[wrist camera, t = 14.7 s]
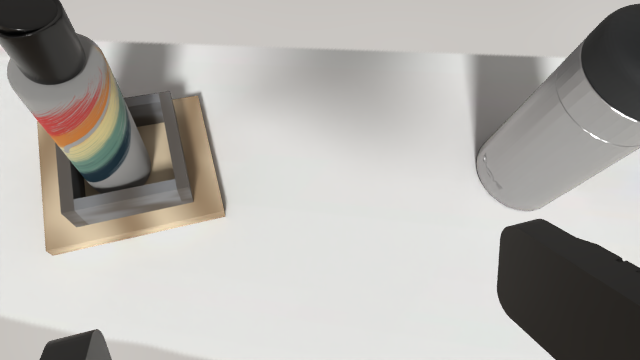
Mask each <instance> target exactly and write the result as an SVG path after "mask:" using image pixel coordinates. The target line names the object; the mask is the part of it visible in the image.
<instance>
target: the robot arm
mask: <svg viewBox="0 0 640 360" xmlns="http://www.w3.org/2000/svg"><path fill="white" fill-rule="evenodd" d="M639 148H640V4H634V5H629V6H626V7H623V8H620V9H618V10H617V11H615V12H613V13H612V14H610V15H609V16H608V17H606V18H605V19H604V20H603V21H602V22H601V23H600V24H599V25H598V26H597V27H596V28H595V29H594V30H593V31H592V32H591V33H590V34H589V35H588V36H587V38H586V39H585V40H584V41H583V42H582V43H581V44H580V45H579V46H578V47H577V48H576V49H575V50H574V51H573V52H572V53H571V54H570V55H569V56H568V57H567V58H566V59H565V61H564V62H563V63H562V64H561V65H560V66H559V67H558V68H557V69H556V70H555V71H554V72H553V73H552V74H551V75H550V76H549V77H548V78H547V79H546V80H545V81H544V82H543V83H542V84H541V85H540V86H539V88H538V89H537V90H536V91H535V92H534V93H533V94H532V95H531V96H530V97H529V98H528V99H527V100H526V101H525V102H524V103H523V104H522V105H521V106H520V107H519V108H518V109H517V110H516V111H515V112H514V113H513V114H512V115H511V116H510V118H509V119H508V120H507V121H506V122H505V123H504V124H503V125H502V126H501V127H500V128H499V129H498V130H497V131H496V132H495V133H494V134H493V135H492V136H491V137H490V138H489V139H488V140H487V141H486V142H485V143H484V144H483V146H482V147H481V149H480V150H479V153H478V156H477V171H478V175H479V177H480V180H481V182H482V184H483V185H484V187H485V189H486V190H487V191H488V192H489V193H490V194H491V196H493V197H494V198H495V199H496V200H497V201H499V202H500V203H502V204H504V205H506V206H508V207H510V208H513V209H516V210H522V211H533V210H536V209H540V208H542V207H543V206H545V205H547V204H548V203H550V202H552V201H553V200H555V199H557V198H558V197H560V196H562V195H563V194H565V193H567V192H569V191H570V190H572V189H573V188H575V187H577V186H578V185H580V184H582V183H583V182H585V181H586V180H588V179H590V178H591V177H593V176H595V175H596V174H598V173H600V172H601V171H603V170H604V169H606V168H608V167H609V166H611V165H613V164H614V163H616V162H618V161H619V160H621V159H622V158H624V157H626V156H627V155H629V154H631V153H632V152H634V151H636V150H637V149H639ZM497 293H498V298H499V301H500V303H501V306H502V307H503V309H504V311H505V312H506V314H507V315H508V316H509V317H510V318H511V319H512V320H513V321H514V322H515V323H516V324H517V325H518V326H520V327H521V328H522V329H523V330H524V331H525V332H526V333H527V334H528V335H529V336H530V337H532V338H533V339H534V340H535V341H536V342H537V343H538V344H539V345H540V346H541V347H542V348H544V349H545V350H546V351H547V352H548V353H549V354H550V355H551V356H552V357H553V358H554V359H556V360H640V268H639V267H637V266H635V265H634V264H632V263H630V262H628V261H623V260H622V258H621V257H619V256H617V255H616V254H614V253H612V252H610V251H608V250H606V249H605V248H603V247H601V246H599V245H597V244H594V243H591V242H588V241H585V240H582V239H579V238H576V237H574V236H572V235H570V234H569V233H567V232H565V231H563V230H562V229H560V228H558V227H556V226H555V225H553V224H551V223H549V222H547V221H545V220H543V219H536V220H532V221H528V222H524V223H520V224H516V225H512V226H508V227H506V228H504V230H503V231H502V233H501V237H500V250H499V265H498V280H497ZM40 360H112V359H111V356H110V353H109V350H108V347H107V345H106V342H105V339H104V336H103V335H102V333H101V331H99V330H98V329H96V330H92V331H88V332H84V333H80V334H76V335H72V336H68V337H64V338H60V339H56V340H52V341H49V342H48V343H47V344H46V346H45V348H44V350H43V353H42V355H41V358H40Z"/></svg>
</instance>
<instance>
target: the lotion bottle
mask: <svg viewBox="0 0 640 360" xmlns="http://www.w3.org/2000/svg"><path fill="white" fill-rule="evenodd" d="M0 44H1V46H2V47H3V48H4V50H5V51H6V52H7V54H8V55H9V56H10V60H9V63H8V67H7V76H8V80H9V82H10V85H11V87H12V88H13V90H14V91H15V93H16V94H17V95H18V97H19V98H20V99H21V100H22V102H23V103H24V104H25V105H26V107H27V108H28V109H29V110H30V112H31V113H32V114H33V115H34V117H35V118H36V119H37V120H38V122H39V123H40V124H41V125H42V126H43V128H44V129H45V130H46V131H47V133H48V134H49V135H50V136H51V138H52V139H53V140H54V141H55V143H56V144H57V145H58V146H59V147H60V149H61V150H62V151H63V152H64V154H65V155H66V156H67V157H68V159H69V160H70V161H71V162H72V164H73V165H74V166H75V167H76V168H77V170H78V171H79V172H80V173H81V175H82V176H83V177H84V178H85V179H86V181H87V182H88V183H89V184H90V185H91V186H92V187H93V188H94V189H95V190H96V191H98V192H100V193H102V194H103V193H108V192H112V191H117V190H122V189H127V188H132V187H137V186H142V185H144V184H145V183H146V181H147V180H148V178H149V175H150V172H151V161H150V157H149V154H148V152H147V150H146V147H145V145H144V143H143V140H142V138H141V136H140V134H139V131H138V129H137V127H136V125H135V123H134V120H133V118H132V116H131V114H130V111H129V109H128V107H127V105H126V102H125V100H124V98H123V96H122V93H121V91H120V89H119V87H118V85H117V82H116V80H115V78H114V76H113V73H112V71H111V69H110V67H109V65H108V62H107V60H106V58H105V56H104V54H103V53H102V51H101V49H100V48H99V47H98V46H97V45H96V43H94V42H93V41H92V40H90V39H89V38H87V37H85V36H83V35H80V34H77V33H75V30H74V28H73V26H72V24H71V22H70V20H69V18H68V16H67V14H66V12H65V10H64V8H63V6H62V4H61V2H60V1H59V0H0Z"/></svg>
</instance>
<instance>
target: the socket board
mask: <svg viewBox="0 0 640 360" xmlns="http://www.w3.org/2000/svg"><path fill="white" fill-rule="evenodd" d="M124 100H125V102H126V105H127V107H128V109H129V111H130V114H131V116H132V118H133V120H134V123H135V125H136V127H137V129H138V131H139V134H140V136H141V138H142V140H143V143H144V145H145V147H146V150H147V152H148V154H149V157H150V161H151V172H150V175H149V178H148V180H147V181H146V183H145V184H144V185H142V186H137V187H132V188H127V189H122V190H117V191H112V192H108V193H103V194H102V193H100V192H98V191H96V190H95V189H94V188H93V187H92V186H91V185H90V184H89V183H88V182H87V181H86V179H85V178H84V177H83V176H82V175H81V173H80V172H79V171H78V170H77V168H76V167H75V166H74V165H73V164H72V162H71V161H70V160H69V159H68V157H67V156H66V155H65V154H64V152H63V151H62V150H61V149H60V147H59V146H58V145H57V144H56V143H55V141H54V140H53V139H52V138H51V136H50V135H49V134H48V133H47V131H46V130H45V129H44V128H43V126H42V125H41V124H40V123H39V122H38V121H37V126H38V141H39V156H40V171H41V186H42V201H43V216H44V231H45V246H46V251H47V252H48V253H50V254H51V255H58V254H62V253H66V252H71V251H75V250H80V249H84V248H88V247H93V246H97V245H102V244H106V243H110V242H115V241H119V240H124V239H128V238H132V237H137V236H141V235H146V234H150V233H155V232H159V231H163V230H168V229H172V228H177V227H181V226H185V225H190V224H194V223H199V222H203V221H207V220H212V219H216V218H221V217H225V212H224V207H223V203H222V199H221V194H220V190H219V186H218V181H217V177H216V172H215V168H214V164H213V159H212V155H211V151H210V146H209V142H208V137H207V133H206V129H205V124H204V120H203V116H202V111H201V107H200V102H199V98H198V96H192V97H186V98H180V99H173V100H172V98H171V94H170V91H167V92H161V93H154V94H148V95H141V96H135V97H128V98H124Z"/></svg>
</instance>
